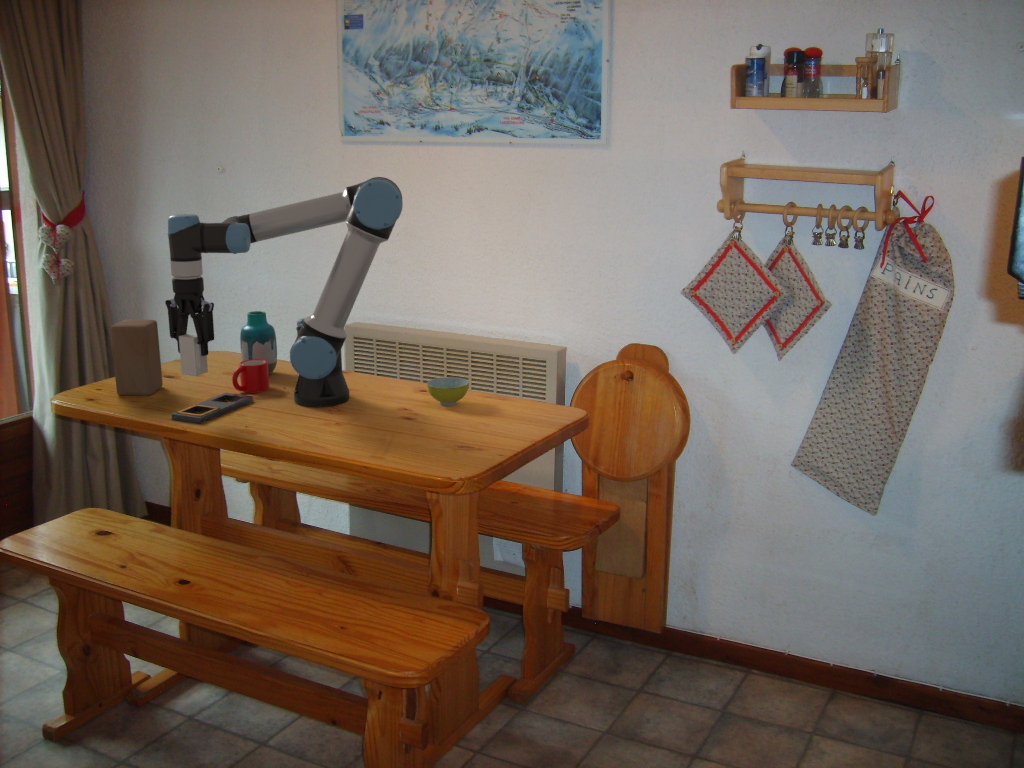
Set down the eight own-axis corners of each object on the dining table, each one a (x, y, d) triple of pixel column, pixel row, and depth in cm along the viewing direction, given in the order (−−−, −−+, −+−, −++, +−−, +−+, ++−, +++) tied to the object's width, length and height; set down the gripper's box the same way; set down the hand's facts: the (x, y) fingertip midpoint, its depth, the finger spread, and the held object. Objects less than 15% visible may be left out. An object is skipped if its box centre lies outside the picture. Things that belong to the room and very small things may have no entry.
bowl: (420, 401, 269) (420, 380, 267) (457, 396, 274) (457, 375, 273) (438, 412, 259) (437, 389, 258) (476, 406, 265) (476, 384, 263)
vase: (285, 373, 297) (282, 311, 292) (259, 380, 289) (255, 317, 284) (260, 368, 303) (257, 307, 298) (234, 375, 294) (230, 313, 289)
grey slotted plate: (252, 401, 268) (252, 395, 267) (200, 423, 248) (199, 417, 248) (225, 397, 271) (225, 391, 271) (171, 419, 251) (171, 413, 251)
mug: (224, 393, 275) (222, 366, 273) (255, 383, 285) (253, 357, 283) (245, 397, 272) (243, 370, 270) (275, 387, 282) (273, 361, 280)
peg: (207, 372, 252) (205, 334, 250) (196, 376, 248) (193, 338, 246) (193, 370, 254) (190, 332, 251) (181, 374, 250) (178, 336, 247)
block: (151, 396, 272) (144, 326, 267) (115, 395, 272) (108, 325, 267) (164, 386, 282) (158, 319, 276) (130, 386, 282) (123, 318, 276)
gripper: (225, 277, 245) (231, 366, 251) (169, 272, 251) (176, 359, 257) (206, 281, 238) (213, 373, 244) (148, 276, 244) (156, 366, 250)
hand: (194, 366), depth 251 cm, fingers closed on peg, 5 cm apart
